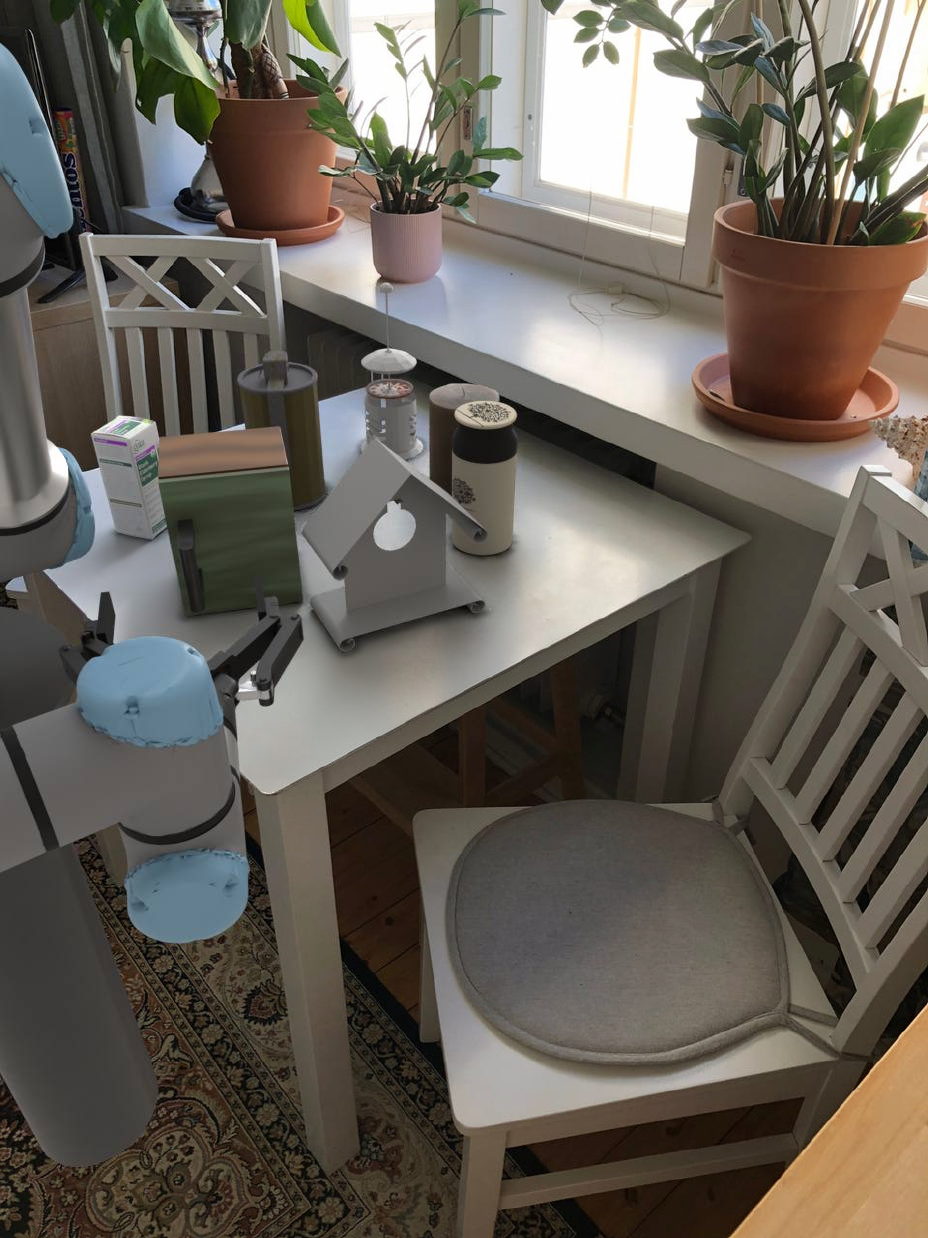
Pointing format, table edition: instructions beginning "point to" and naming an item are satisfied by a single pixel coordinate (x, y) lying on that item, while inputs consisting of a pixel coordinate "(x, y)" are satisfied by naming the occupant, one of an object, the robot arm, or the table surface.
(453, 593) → the grey house-shaped piece
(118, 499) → the syrup box
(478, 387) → the pillar candle
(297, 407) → the canister
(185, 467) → the compartment
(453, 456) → the travel mug
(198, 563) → the door
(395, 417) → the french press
